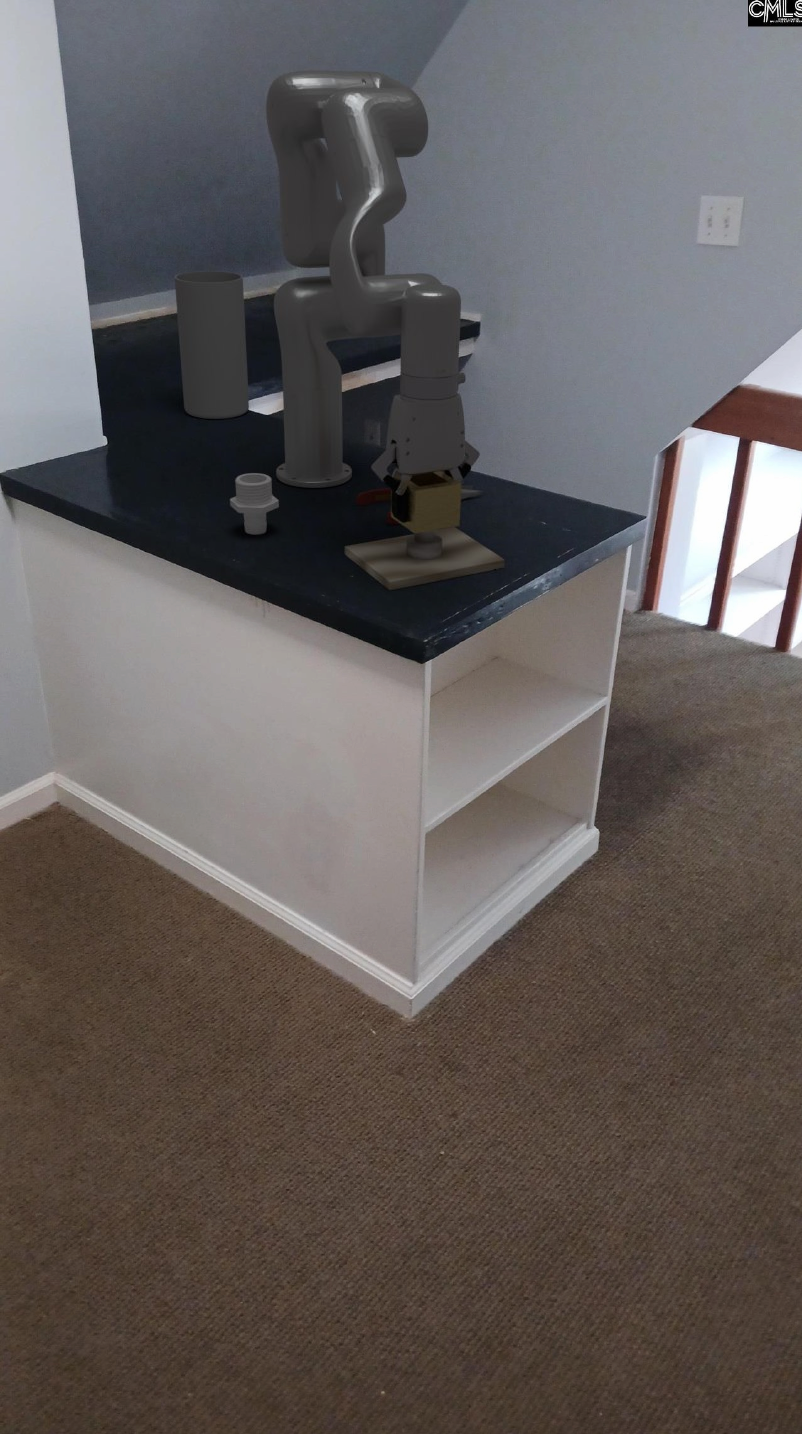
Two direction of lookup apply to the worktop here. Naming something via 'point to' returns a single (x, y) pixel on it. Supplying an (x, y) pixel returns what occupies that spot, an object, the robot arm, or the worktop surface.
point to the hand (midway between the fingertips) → (424, 514)
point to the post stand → (423, 558)
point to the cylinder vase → (212, 343)
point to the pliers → (385, 496)
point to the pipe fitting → (254, 501)
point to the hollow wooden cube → (432, 502)
